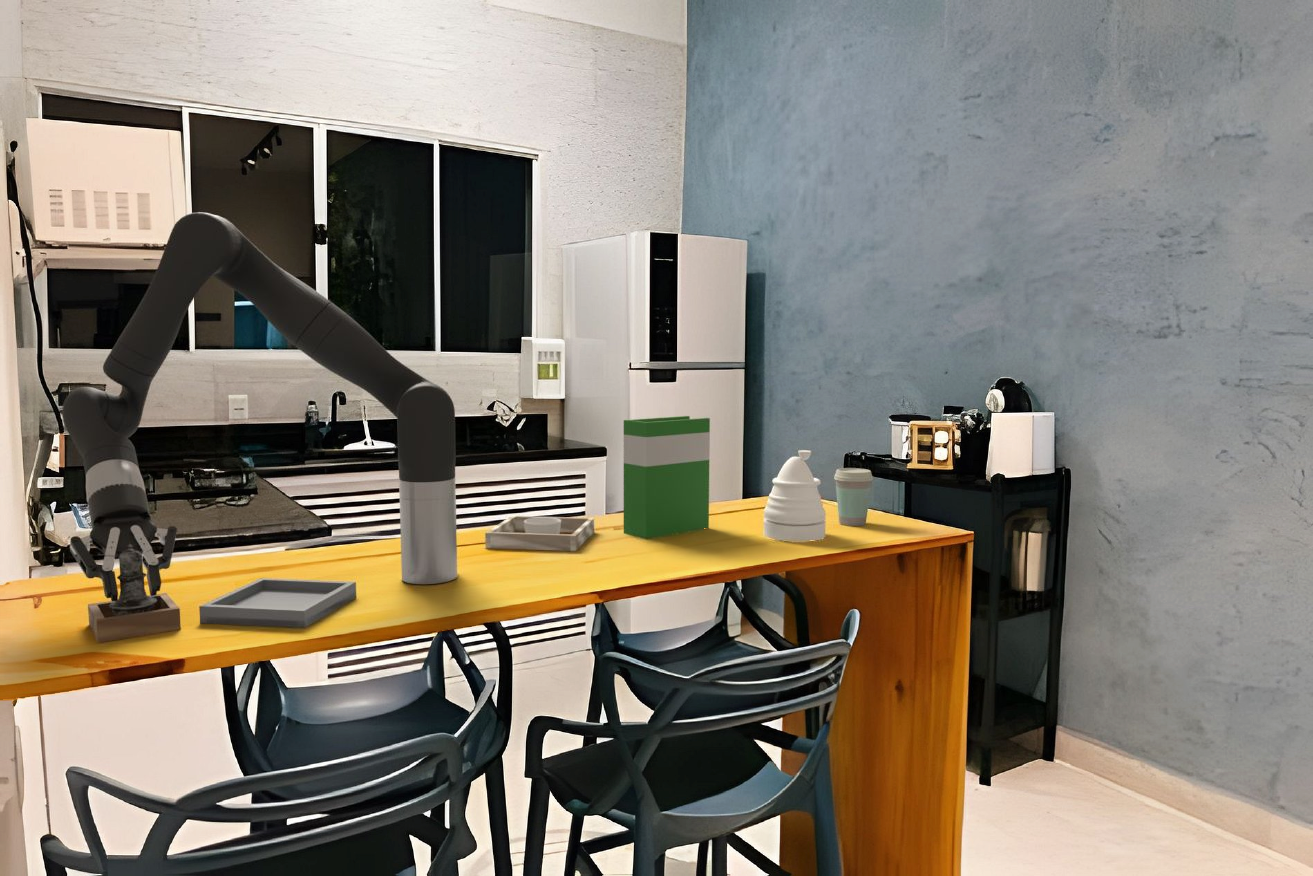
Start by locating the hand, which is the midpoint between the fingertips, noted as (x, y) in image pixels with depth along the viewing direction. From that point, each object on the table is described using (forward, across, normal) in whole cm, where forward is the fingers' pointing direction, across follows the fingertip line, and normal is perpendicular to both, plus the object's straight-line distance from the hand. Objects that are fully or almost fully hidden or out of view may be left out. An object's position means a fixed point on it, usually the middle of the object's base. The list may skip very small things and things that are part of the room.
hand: (134, 594), depth 130 cm
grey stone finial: (+2, 0, +5) cm, 6 cm away
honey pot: (+10, +120, -3) cm, 121 cm away
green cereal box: (-4, +102, +11) cm, 102 cm away
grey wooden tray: (-9, +76, +16) cm, 78 cm away
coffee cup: (+9, +140, -2) cm, 140 cm away
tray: (+5, +19, +2) cm, 20 cm away
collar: (+2, 0, +5) cm, 5 cm away
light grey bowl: (-7, +75, +15) cm, 76 cm away
